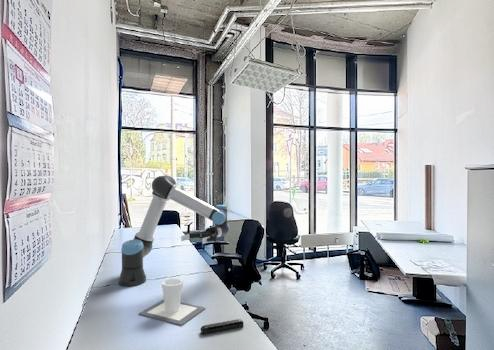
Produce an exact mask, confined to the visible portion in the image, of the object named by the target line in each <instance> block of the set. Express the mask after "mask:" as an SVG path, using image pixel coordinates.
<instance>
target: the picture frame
mask: <svg viewBox="0 0 494 350" xmlns="http://www.w3.org/2000/svg"><path fill="white" fill-rule="evenodd" d="M205 310H206V307H204V306H198V305H194V304H190V303H186V302H180V309H179V311H178V312H175V313H168V312H166V310H165V303H164V299H162V300H160V301H158V302H157V303H154V304H152V305H151V306H150V307H147V308H146V309H144V310H142V311H140V312H139V313H138V315H140V316H143V317H147V318H151V319H154V320H159V321H162V322H166V323H168V324H169V323H170V324H173V325H176V326H181V327H182V326H184V325H186V324H187V323H188V322H190V321H191V320H192V319H194V318H195V317H196V316H198V315H199V314H201V313H202V312H203V311H205Z"/></svg>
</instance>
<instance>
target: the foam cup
mask: <svg viewBox="0 0 494 350" xmlns="http://www.w3.org/2000/svg"><path fill="white" fill-rule="evenodd" d="M183 288H184V280H182V279H181V278H168V279H164V280H163V281H162V282H161V289H162V295H163V300H164V303H165V310H166V312H168V313H175V312H178V311H179V309H180V302H181V300H182V294H183V293H182V292H183Z"/></svg>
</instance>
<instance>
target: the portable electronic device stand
mask: <svg viewBox="0 0 494 350" xmlns="http://www.w3.org/2000/svg"><path fill="white" fill-rule="evenodd" d="M243 328H244V321H243V320H242V319H240V318H236V319H232V320H226V321H221V322H214V323H209V324H205V325H202V326H201V327H200V333H201V334H202V335H203V336H205V335H211V334H216V333H220V332H226V331H232V330H236V329H243Z"/></svg>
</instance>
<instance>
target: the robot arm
mask: <svg viewBox="0 0 494 350" xmlns="http://www.w3.org/2000/svg"><path fill="white" fill-rule="evenodd" d="M151 190H152V192H151V194H152V199H151V202H150V204H149V206H148V210H147V212H146V214H145V217H144V219H143V222H142V224H141V227H140V229H139V231H138V232H136V233H135V235H134V237H133V239H129V240H126V241H124V242H122V244H121V271H120V273H119V274H120V275H119V278H118V285H119V286H122V287H134V286H139V285H141V284H145V282H146V281H147V275H146V273H145V270H144V258H145V257H146V256H147V255H149V254H150V253H151V251H152V249H153V243H154V241H155V238H154V233H155V231H156V229H157V226H158V223H159V221H160V219H161V217H162V213H163V211H164V208H165V206H166V204H167V201H168V202H169V201H170V200H171V201H174V202H175V203H177V204H179V205H181V206H183V207H184V208H187V209H189V210H191V211H192V212H195V213H197V214H199V215H200V216H202V217H204V218H206V219H208V220H210V221H212V223H213V224H214V225H213V226H209V227H207V228H205V230H204V231H199V230H197V231H193V232H186V233H185V234H184V235H181V237H180V238H181V239H180V241H181V242H184V241H188V240H190V239H197V238H199V239H201V241H202V242H201V244H202V245H203V244H204V245H205V244H206V243H210V242H213V241H214V242H217V240H218V238H219V239H220V237H225V236H226V235H228V234H229V233H230V231H231V227H230V225H229V224H228V206H227V205H226V204H216V205H215V207H214V206H213V205H211V204H208V203H207V202H205V201H204V200H201V199H199V198H197V197H196V196H194V195H192V194H190V193H188V192H186V191H184V190H182V189H180V188H178V186H177V182H176V179H175V178H174V177H173V176H170V175H167V174H166V175H160V176H157V177H155V178H154V179H153V181H151Z"/></svg>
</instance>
